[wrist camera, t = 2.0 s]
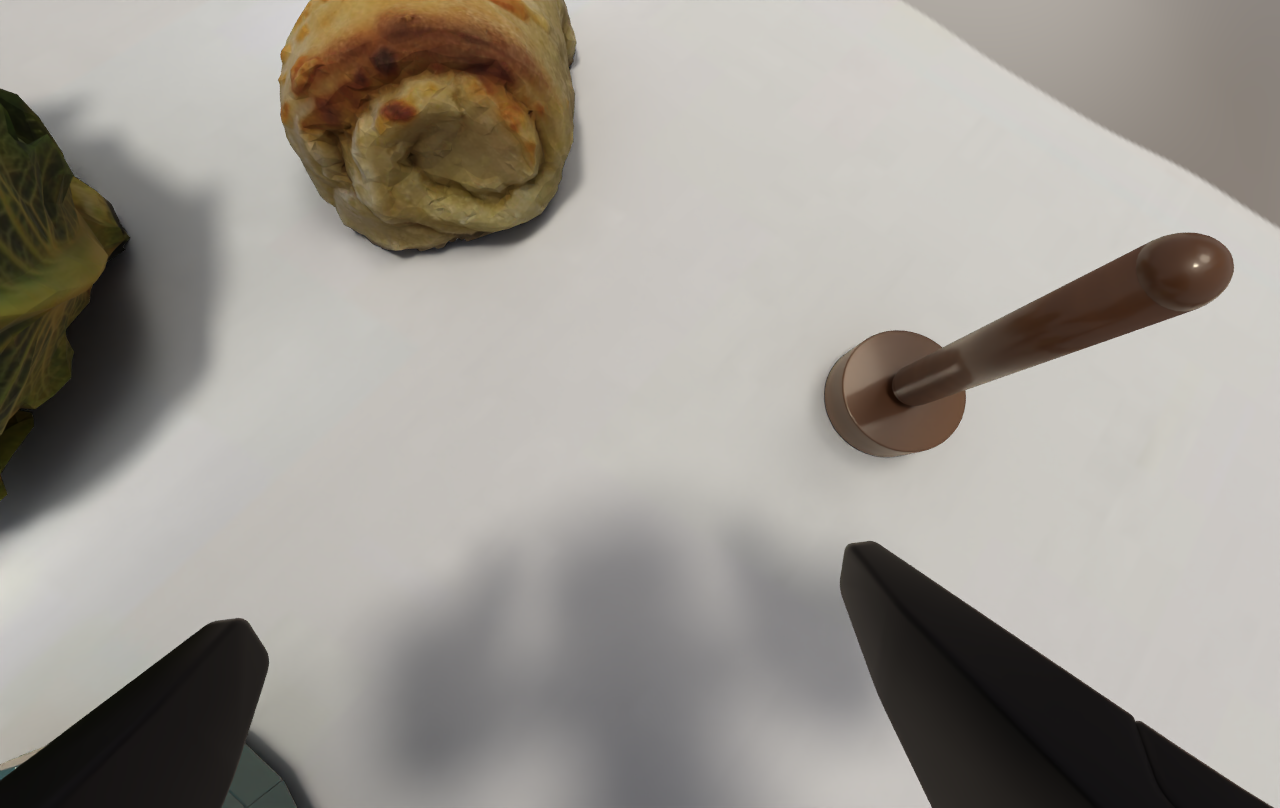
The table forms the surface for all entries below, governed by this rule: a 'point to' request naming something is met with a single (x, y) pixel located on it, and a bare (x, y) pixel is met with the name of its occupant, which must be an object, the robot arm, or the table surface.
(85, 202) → the vegetable
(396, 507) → the table surface
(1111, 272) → the rounded top peg stand
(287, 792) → the bowl
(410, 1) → the pastry
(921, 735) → the robot arm
